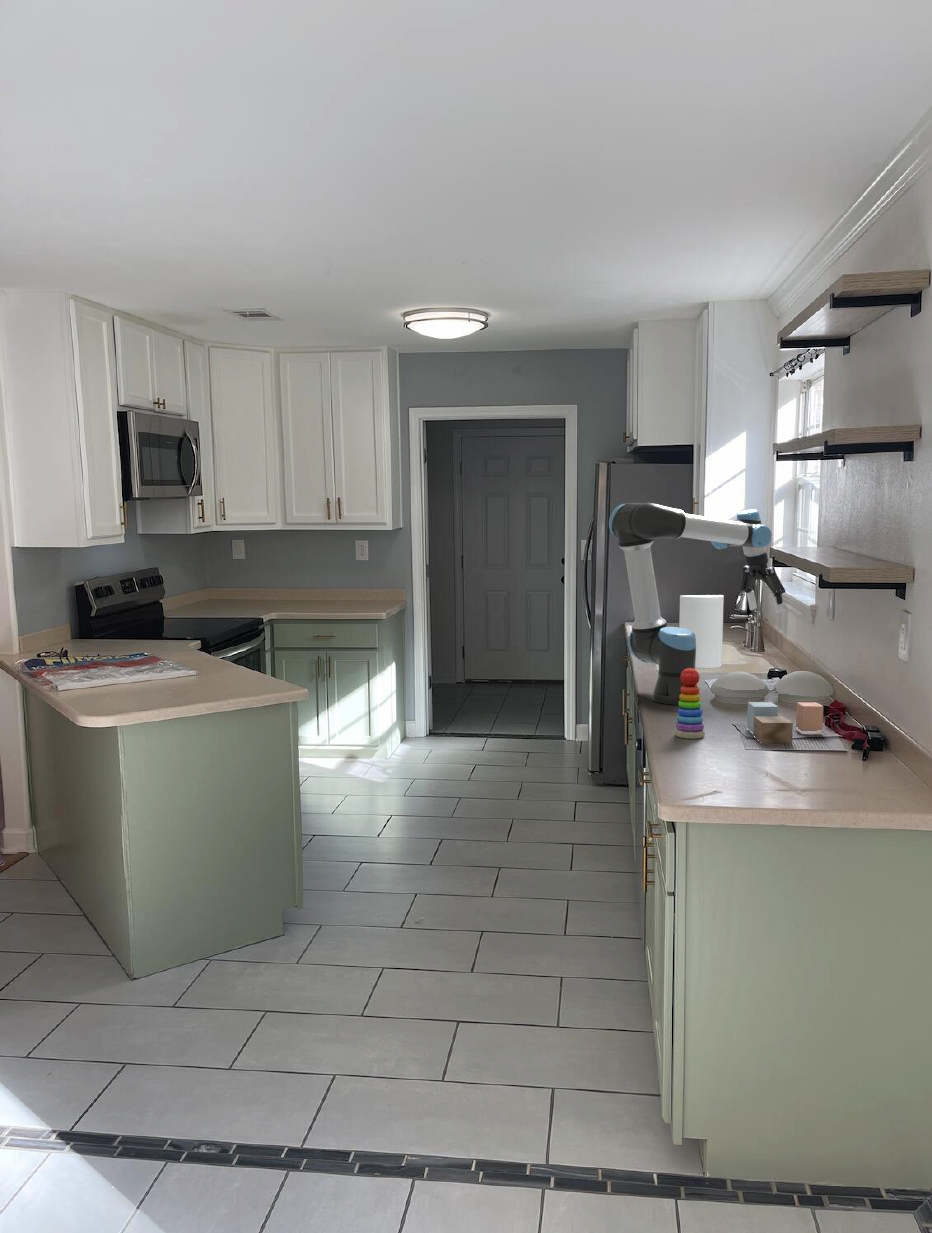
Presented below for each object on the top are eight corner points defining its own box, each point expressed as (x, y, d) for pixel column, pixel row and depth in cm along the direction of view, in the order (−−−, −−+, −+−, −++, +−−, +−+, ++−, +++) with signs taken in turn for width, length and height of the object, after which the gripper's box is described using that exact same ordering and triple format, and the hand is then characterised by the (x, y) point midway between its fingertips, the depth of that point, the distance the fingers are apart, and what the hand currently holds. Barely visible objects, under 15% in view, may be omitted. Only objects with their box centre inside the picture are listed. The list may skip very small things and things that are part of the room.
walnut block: (761, 745, 255) (762, 722, 254) (753, 738, 263) (753, 716, 262) (792, 745, 255) (792, 722, 254) (782, 738, 263) (783, 716, 262)
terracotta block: (802, 734, 266) (803, 706, 265) (795, 730, 271) (796, 702, 271) (822, 735, 266) (823, 706, 265) (815, 730, 271) (816, 702, 270)
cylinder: (728, 667, 380) (730, 597, 377) (685, 668, 379) (686, 597, 376) (713, 661, 397) (715, 593, 394) (672, 661, 396) (673, 593, 393)
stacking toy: (707, 734, 266) (709, 667, 264) (701, 740, 259) (703, 671, 257) (678, 731, 270) (680, 665, 268) (672, 737, 262) (673, 669, 260)
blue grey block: (753, 735, 266) (754, 706, 265) (747, 729, 272) (747, 702, 271) (777, 735, 266) (778, 706, 265) (770, 730, 272) (771, 702, 271)
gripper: (788, 551, 329) (799, 610, 333) (740, 549, 351) (750, 604, 356) (772, 558, 326) (783, 617, 331) (723, 555, 349) (735, 610, 353)
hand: (766, 610), depth 343 cm, fingers open, 13 cm apart
